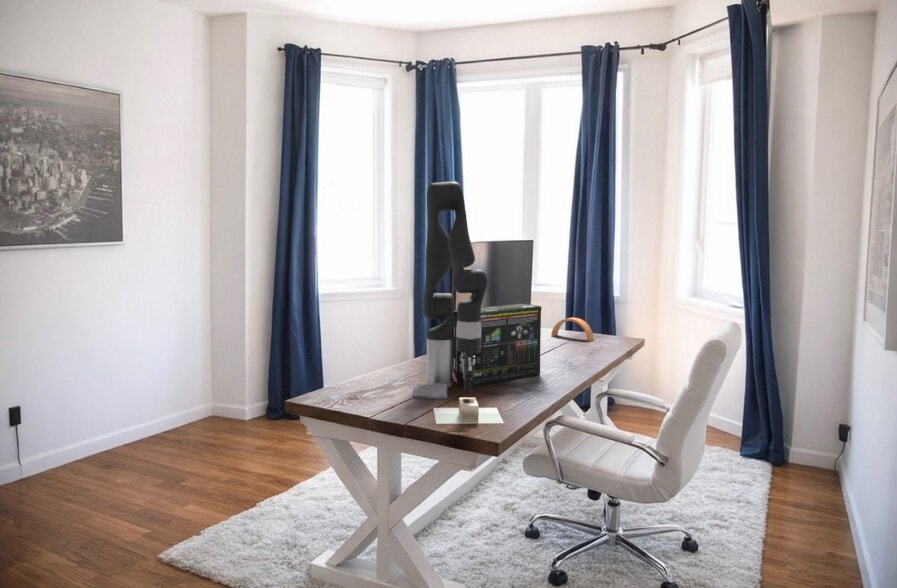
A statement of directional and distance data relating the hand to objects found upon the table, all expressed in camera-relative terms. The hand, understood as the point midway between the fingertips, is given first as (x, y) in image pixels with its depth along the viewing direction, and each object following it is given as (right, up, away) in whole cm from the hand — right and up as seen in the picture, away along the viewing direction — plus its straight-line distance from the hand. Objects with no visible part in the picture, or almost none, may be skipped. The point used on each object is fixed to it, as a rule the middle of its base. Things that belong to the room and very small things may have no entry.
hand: (467, 391), depth 218 cm
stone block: (-12, -5, +22) cm, 25 cm away
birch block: (0, -5, +1) cm, 5 cm away
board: (0, -8, -1) cm, 8 cm away
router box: (+12, -2, +49) cm, 50 cm away
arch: (+55, +8, +131) cm, 142 cm away
